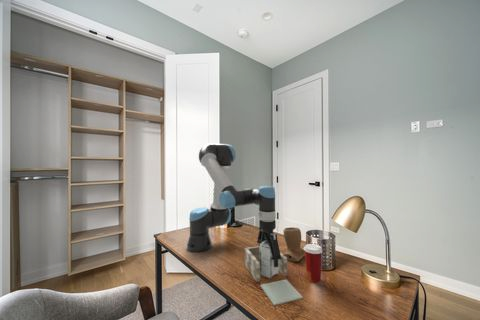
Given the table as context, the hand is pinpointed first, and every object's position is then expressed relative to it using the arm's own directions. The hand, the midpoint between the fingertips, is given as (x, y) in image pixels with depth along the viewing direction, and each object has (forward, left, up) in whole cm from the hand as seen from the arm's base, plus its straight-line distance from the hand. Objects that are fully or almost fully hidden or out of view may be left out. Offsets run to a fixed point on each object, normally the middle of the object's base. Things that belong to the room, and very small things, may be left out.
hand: (268, 266), depth 91 cm
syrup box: (0, 0, -4) cm, 4 cm away
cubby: (-4, 0, -4) cm, 6 cm away
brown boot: (-12, +21, -4) cm, 25 cm away
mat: (+13, -1, -4) cm, 14 cm away
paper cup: (+10, +17, -4) cm, 20 cm away
